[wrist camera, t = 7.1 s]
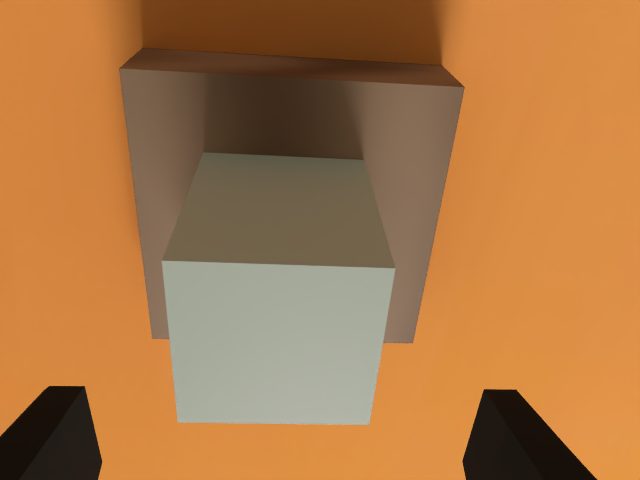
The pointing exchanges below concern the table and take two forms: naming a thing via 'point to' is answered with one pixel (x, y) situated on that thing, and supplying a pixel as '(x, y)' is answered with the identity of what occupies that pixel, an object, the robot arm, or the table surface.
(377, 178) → the walnut base
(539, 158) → the table surface
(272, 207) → the sage cube
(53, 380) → the table surface
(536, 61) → the table surface
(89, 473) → the robot arm
